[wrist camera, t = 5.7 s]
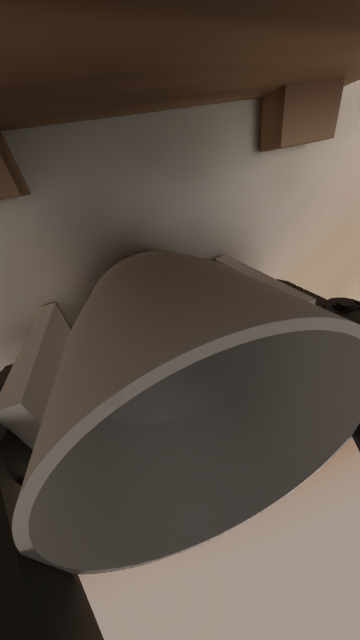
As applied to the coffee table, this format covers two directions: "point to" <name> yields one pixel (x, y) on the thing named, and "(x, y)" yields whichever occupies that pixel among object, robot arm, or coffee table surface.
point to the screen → (175, 63)
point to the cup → (182, 413)
